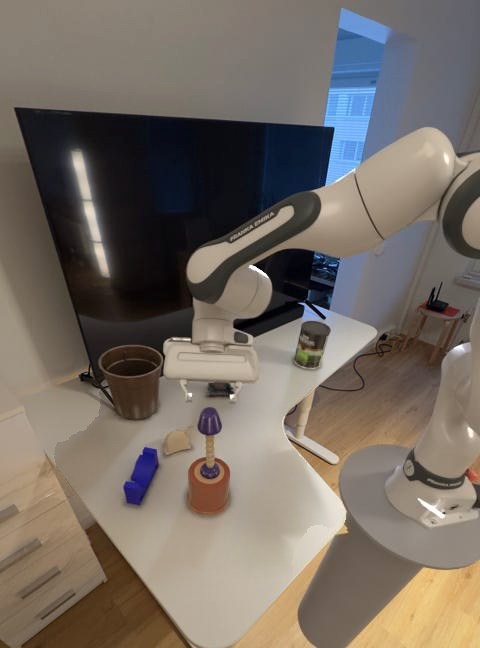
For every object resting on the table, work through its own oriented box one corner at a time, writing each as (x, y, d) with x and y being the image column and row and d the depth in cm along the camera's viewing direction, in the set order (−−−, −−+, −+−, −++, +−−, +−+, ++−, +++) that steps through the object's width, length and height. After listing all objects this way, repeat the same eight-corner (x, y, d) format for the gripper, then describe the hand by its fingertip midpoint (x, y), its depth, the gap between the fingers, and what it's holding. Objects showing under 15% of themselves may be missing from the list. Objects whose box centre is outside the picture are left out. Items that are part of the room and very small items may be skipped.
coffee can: (309, 373, 123) (318, 337, 113) (288, 360, 128) (295, 325, 118) (326, 364, 128) (336, 329, 119) (305, 352, 133) (313, 318, 124)
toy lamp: (198, 480, 71) (199, 420, 60) (195, 464, 74) (195, 404, 63) (221, 478, 72) (226, 418, 61) (217, 461, 75) (221, 402, 64)
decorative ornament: (161, 445, 90) (159, 430, 87) (191, 437, 93) (191, 423, 90) (165, 455, 88) (164, 441, 84) (196, 447, 91) (196, 433, 87)
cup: (228, 481, 83) (230, 455, 77) (229, 515, 76) (232, 489, 70) (188, 480, 82) (188, 454, 76) (186, 515, 75) (185, 489, 69)
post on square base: (229, 383, 114) (232, 351, 106) (236, 397, 108) (239, 364, 100) (202, 386, 111) (203, 353, 103) (208, 400, 106) (209, 367, 98)
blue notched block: (141, 462, 85) (138, 445, 81) (158, 465, 85) (156, 449, 81) (120, 501, 76) (116, 484, 72) (139, 505, 76) (136, 489, 72)
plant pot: (158, 386, 109) (153, 340, 98) (173, 417, 99) (170, 370, 88) (104, 396, 103) (94, 349, 92) (114, 431, 93) (104, 382, 82)
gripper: (161, 331, 70) (159, 399, 69) (260, 336, 72) (259, 402, 71) (165, 340, 76) (163, 402, 75) (256, 345, 78) (255, 405, 77)
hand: (210, 402), depth 73 cm, fingers open, 8 cm apart
